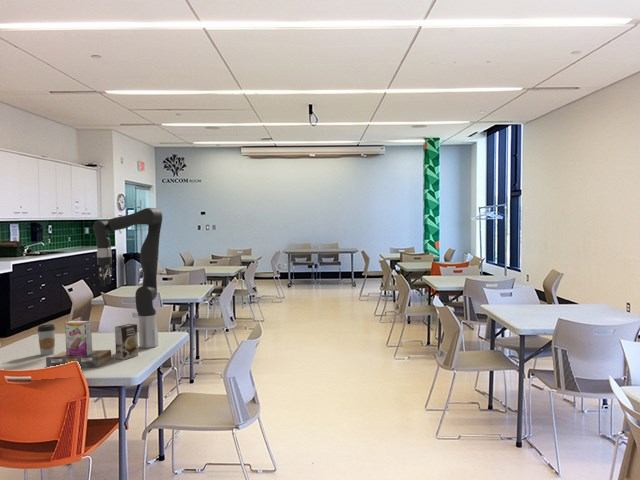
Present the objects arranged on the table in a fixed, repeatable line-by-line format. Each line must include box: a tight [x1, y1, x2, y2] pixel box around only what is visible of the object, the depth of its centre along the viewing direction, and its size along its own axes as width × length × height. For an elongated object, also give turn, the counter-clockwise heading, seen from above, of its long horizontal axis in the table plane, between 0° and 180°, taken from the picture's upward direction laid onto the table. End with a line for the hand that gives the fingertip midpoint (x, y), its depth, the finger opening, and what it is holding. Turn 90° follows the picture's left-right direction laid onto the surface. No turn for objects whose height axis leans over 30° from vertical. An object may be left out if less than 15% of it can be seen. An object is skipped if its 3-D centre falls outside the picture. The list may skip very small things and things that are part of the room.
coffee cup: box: [37, 323, 56, 357], centre depth 281 cm, size 8×8×15 cm
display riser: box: [45, 349, 112, 369], centre depth 260 cm, size 24×18×6 cm
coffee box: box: [114, 323, 139, 361], centre depth 269 cm, size 9×6×16 cm
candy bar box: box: [64, 320, 93, 356], centre depth 259 cm, size 11×5×16 cm, turn 80°
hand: (105, 285), depth 299 cm, fingers open, 8 cm apart
